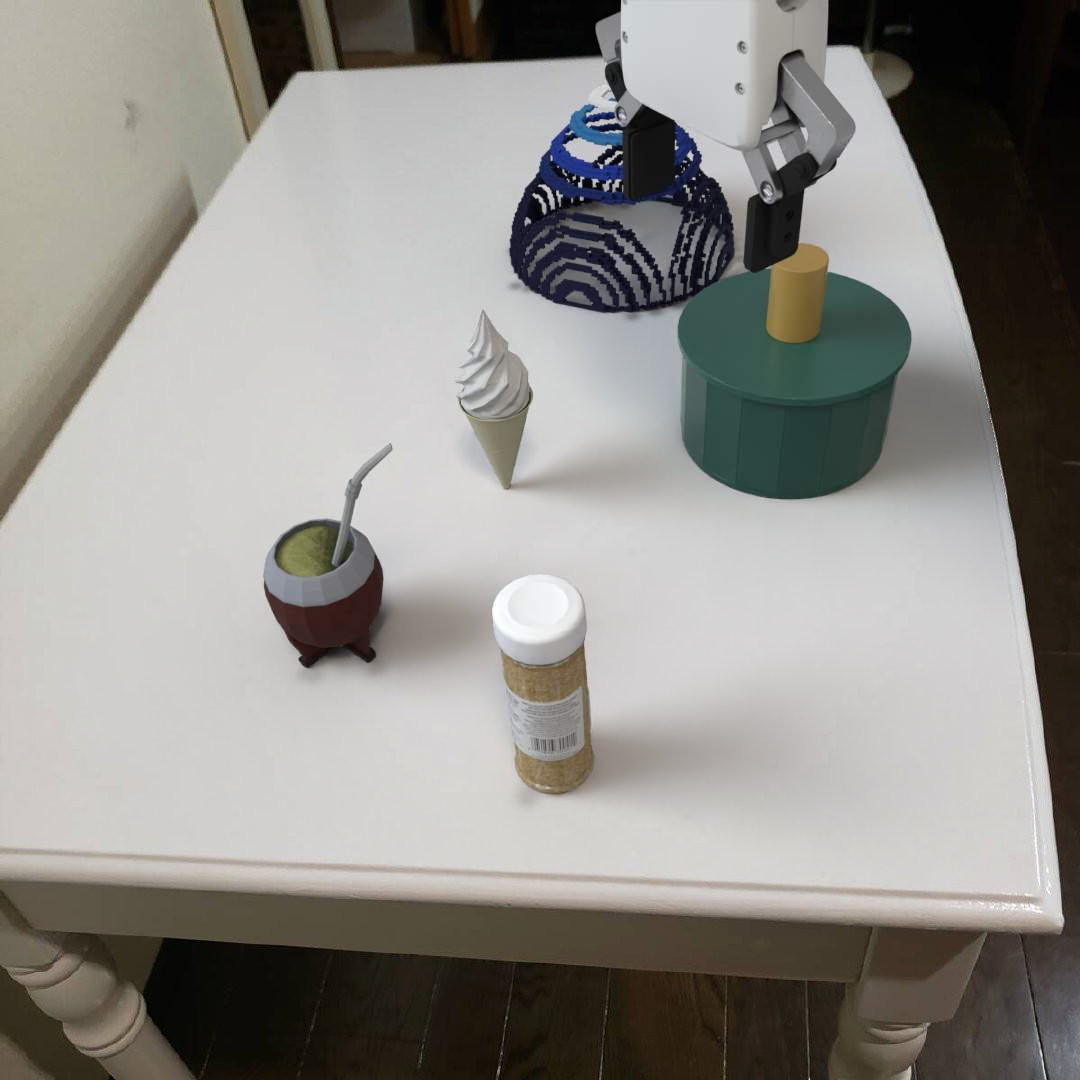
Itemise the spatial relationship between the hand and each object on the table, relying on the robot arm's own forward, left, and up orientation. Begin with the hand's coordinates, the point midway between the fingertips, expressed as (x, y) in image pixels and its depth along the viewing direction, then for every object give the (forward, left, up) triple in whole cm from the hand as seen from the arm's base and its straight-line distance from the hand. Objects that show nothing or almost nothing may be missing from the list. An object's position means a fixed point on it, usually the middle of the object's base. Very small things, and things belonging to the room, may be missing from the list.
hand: (706, 225), depth 59 cm
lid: (-3, -12, -14) cm, 19 cm away
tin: (-3, -12, -23) cm, 26 cm away
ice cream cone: (+14, 0, -23) cm, 27 cm away
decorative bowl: (+17, -33, -23) cm, 44 cm away
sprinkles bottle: (+2, +20, -23) cm, 31 cm away
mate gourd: (+18, +16, -23) cm, 33 cm away
